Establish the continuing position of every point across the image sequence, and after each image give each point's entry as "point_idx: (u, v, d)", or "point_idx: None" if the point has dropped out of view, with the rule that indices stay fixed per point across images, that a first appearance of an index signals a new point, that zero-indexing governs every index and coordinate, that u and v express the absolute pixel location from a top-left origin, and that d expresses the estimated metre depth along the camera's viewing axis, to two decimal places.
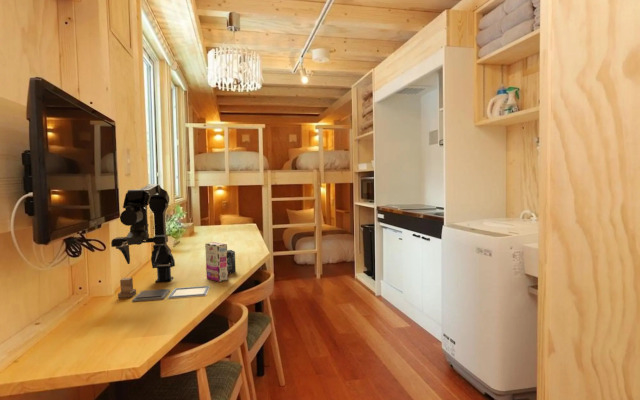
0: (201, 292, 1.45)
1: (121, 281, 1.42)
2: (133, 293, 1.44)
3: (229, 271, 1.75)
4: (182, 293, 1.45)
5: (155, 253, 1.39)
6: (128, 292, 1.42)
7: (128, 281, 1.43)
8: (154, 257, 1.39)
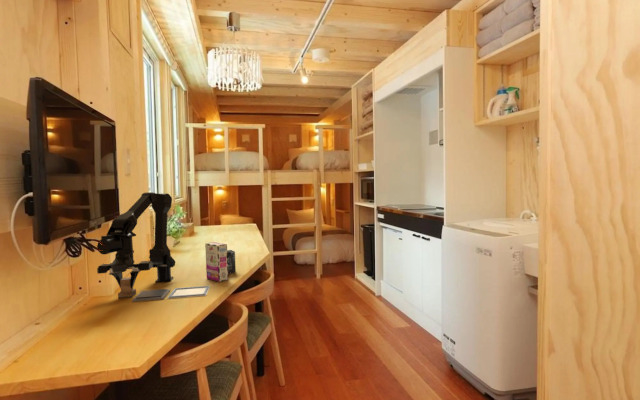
0: (201, 292, 1.45)
1: (121, 281, 1.42)
2: (133, 293, 1.44)
3: (229, 271, 1.75)
4: (182, 293, 1.45)
5: (132, 279, 1.43)
6: (128, 292, 1.42)
7: (128, 281, 1.43)
8: (131, 283, 1.44)
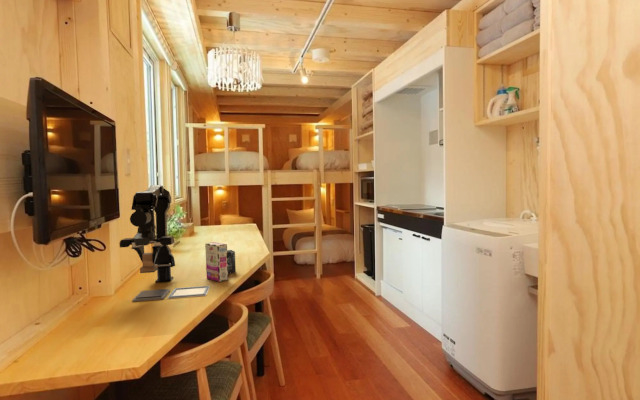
0: (201, 292, 1.45)
1: (143, 255, 1.40)
2: (155, 268, 1.42)
3: (229, 271, 1.75)
4: (182, 293, 1.45)
5: (154, 254, 1.42)
6: (150, 267, 1.41)
7: (150, 256, 1.41)
8: (153, 258, 1.42)
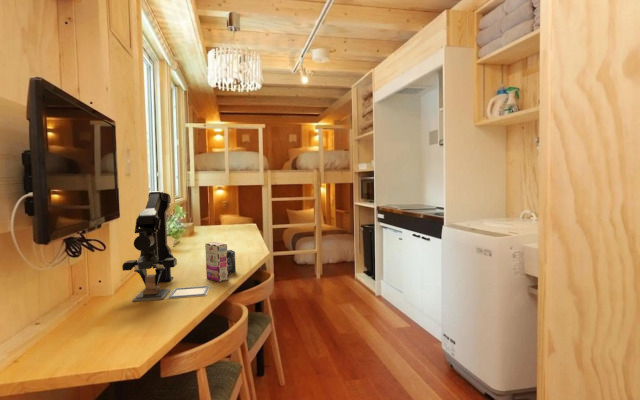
0: (201, 292, 1.45)
1: (146, 278, 1.41)
2: (158, 290, 1.43)
3: (229, 271, 1.75)
4: (182, 293, 1.45)
5: (157, 276, 1.42)
6: (153, 289, 1.41)
7: (153, 278, 1.41)
8: (156, 280, 1.42)
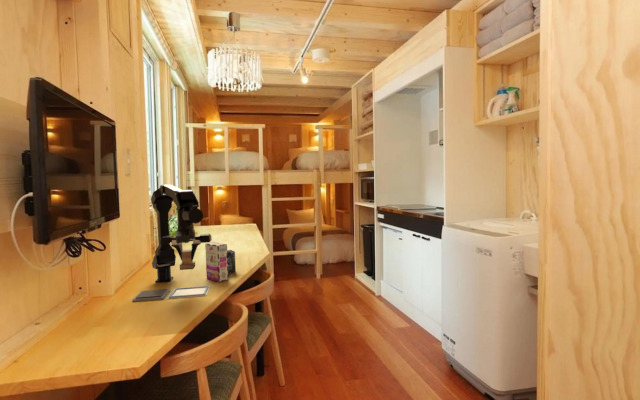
0: (201, 292, 1.45)
1: (182, 253, 1.44)
2: (193, 265, 1.45)
3: (229, 271, 1.75)
4: (182, 293, 1.45)
5: (193, 251, 1.45)
6: (189, 264, 1.44)
7: (189, 253, 1.44)
8: (192, 255, 1.45)
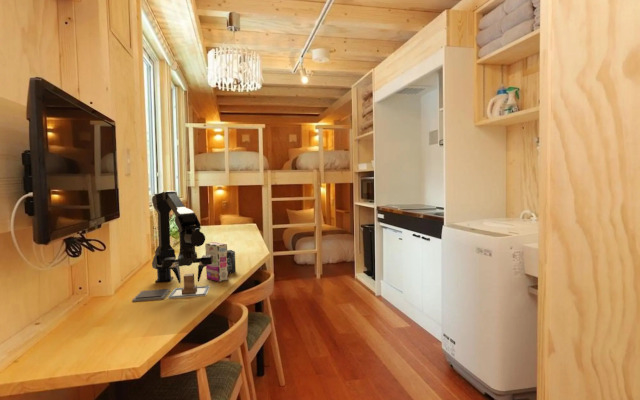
0: (201, 292, 1.45)
1: (184, 277, 1.44)
2: (195, 289, 1.46)
3: (229, 271, 1.75)
4: None
5: (199, 273, 1.46)
6: (191, 288, 1.45)
7: (191, 277, 1.45)
8: (198, 277, 1.46)
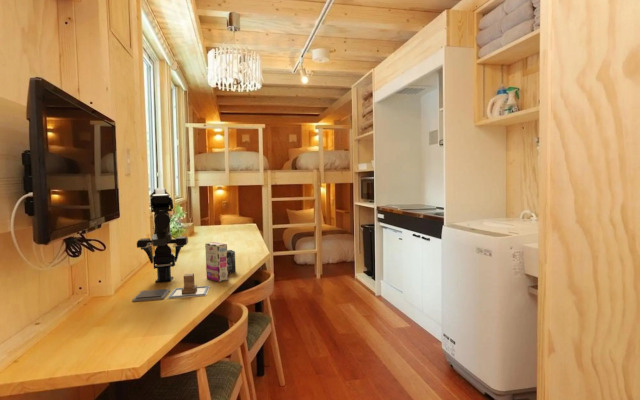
0: (201, 292, 1.45)
1: (184, 277, 1.44)
2: (195, 289, 1.46)
3: (229, 271, 1.75)
4: None
5: (177, 253, 1.50)
6: (191, 288, 1.45)
7: (191, 277, 1.45)
8: (176, 257, 1.50)
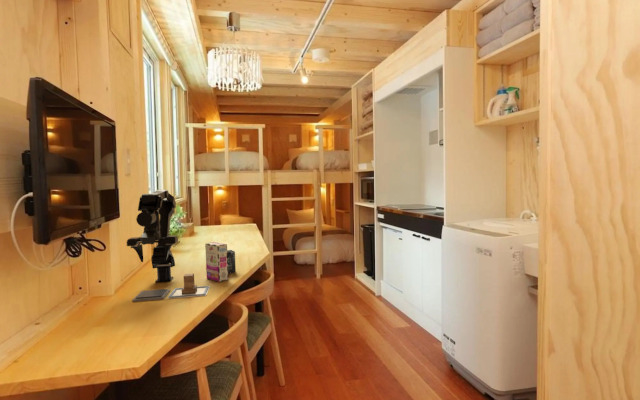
0: (201, 292, 1.45)
1: (184, 277, 1.44)
2: (195, 289, 1.46)
3: (229, 271, 1.75)
4: None
5: (166, 252, 1.51)
6: (191, 288, 1.45)
7: (191, 277, 1.45)
8: (165, 256, 1.51)
